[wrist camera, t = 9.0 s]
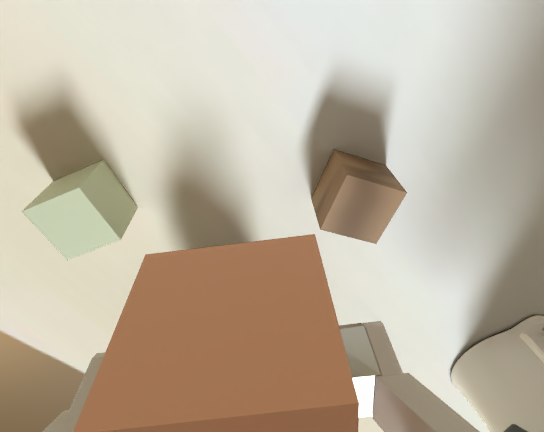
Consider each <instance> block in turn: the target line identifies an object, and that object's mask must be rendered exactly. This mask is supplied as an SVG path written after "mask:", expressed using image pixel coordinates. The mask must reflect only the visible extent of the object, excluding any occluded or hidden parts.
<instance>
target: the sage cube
mask: <svg viewBox="0 0 544 432" xmlns="http://www.w3.org/2000/svg"><path fill="white" fill-rule="evenodd" d="M137 208H138V207H137V205H136V204H135V203H134V201H133V200H132V199H131V197H130V196H129V194H128V193H127V192H126V190H125V189H124V187H123V186H122V185H121V183H120V182H119V181H118V179H117V178H116V176H115V175H114V174H113V172H112V171H111V169H110V168H109V167H108V165H107V164H106V162H105V161H104V160H102V161H99V162H97V163H95V164H92V165H90V166H88V167H85V168H83V169H81V170H78V171H76V172H74V173H71V174H69V175H67V176H64V177H62V178H60V179H57V180H55V181H53V182H52V183H51V184H50V185H49V186H48V187H47V188H46V189H45V190H44V191H43V192H42V193H40V194H39V195H38V196H37V197H36V198H35V199H34V200H33V201H32V202H31V203H30V204H29V205H28V206H27V207H26V208H25V209H24V210H23V211H22V213H23V214H24V215H25V216H26V217H27V218H28V219H29V220H30V221H31V222H32V223H33V224H34V225H35V226H36V228H37V229H38V230H39V231H40V232H41V233H42V234H43V235H44V236H45V237H46V238H47V239H48V240H49V241H50V242H51V243H52V244H53V245H54V247H55V248H56V249H57V250H58V251H59V252H60V253H61V254H62V255H63V256H64V257H65V258H66V259H67V260H69V259H72V258H74V257H77V256H80V255H82V254H85V253H87V252H90V251H93V250H95V249H98V248H100V247H103V246H106V245H108V244H111V243H113V242H116V241H119V240H121V238H122V236H123V234H124V233H125V231H126V229H127V227H128V225H129V223H130V221H131V219H132V217H133V216H134V214H135V212H136V210H137Z"/></svg>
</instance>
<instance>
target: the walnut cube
mask: <svg viewBox="0 0 544 432" xmlns="http://www.w3.org/2000/svg"><path fill="white" fill-rule="evenodd" d="M406 194H407V192H406V191H405V189H404V188H403V187H402V186H401V184H400V183H399V182H398V180H397V179H396V178H395V177H394V175H393V174H392V173H391V171H390V170H389V169H388V168H387V166H386V165H382V164H379V163H376V162H373V161H370V160H366V159H363V158H360V157H357V156H354V155H350V154H347V153H344V152H341V151H338V150H333V152H332V154H331V156H330V158H329V161H328V163H327V165H326V167H325V170H324V172H323V174H322V176H321V179H320V181H319V183H318V185H317V187H316V190H315V192H314V194H313V196H312V203H313V206H314V210H315V213H316V216H317V220H318V223H319V227H320V230H324V231H328V232H332V233H336V234H340V235H344V236H348V237H351V238H355V239H359V240H363V241H367V242H371V243H375V244H376V243H377V242H378V240H379V238H380V237H381V235H382V233H383V232H384V230H385V228H386V227H387V225H388V223H389V222H390V220H391V218H392V217H393V215H394V213H395V212H396V210H397V208H398V207H399V205H400V204H401V202H402V200H403V199H404V197H405V195H406Z"/></svg>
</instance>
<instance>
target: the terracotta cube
mask: <svg viewBox="0 0 544 432" xmlns="http://www.w3.org/2000/svg"><path fill="white" fill-rule="evenodd" d="M358 417H359V401H358V397H357V393H356V390H355V386H354V382H353V378H352V374H351V371H350V367H349V363H348V359H347V355H346V351H345V348H344V344H343V340H342V336H341V332H340V329H339V325H338V321H337V317H336V313H335V309H334V306H333V302H332V298H331V294H330V290H329V287H328V283H327V279H326V275H325V271H324V267H323V264H322V260H321V256H320V252H319V248H318V245H317V241H316V237H315V234H313V235H305V236H296V237H288V238H280V239H271V240H263V241H255V242H246V243H238V244H230V245H222V246H213V247H205V248H197V249H188V250H180V251H172V252H163V253H155V254H147V255H145V257H144V260H143V262H142V265H141V267H140V269H139V272H138V274H137V277H136V279H135V282H134V284H133V287H132V289H131V291H130V294H129V296H128V299H127V301H126V304H125V306H124V309H123V311H122V314H121V316H120V318H119V321H118V323H117V326H116V328H115V331H114V333H113V336H112V338H111V340H110V343H109V345H108V348H107V350H106V353H105V355H104V358H103V360H102V363H101V365H100V367H99V370H98V372H97V375H96V377H95V380H94V382H93V385H92V387H91V389H90V392H89V394H88V397H87V399H86V402H85V404H84V407H83V409H82V412H81V414H80V416H79V419H78V421H77V424H76V426H75V429H74V431H73V432H358Z"/></svg>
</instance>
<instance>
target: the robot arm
mask: <svg viewBox="0 0 544 432" xmlns="http://www.w3.org/2000/svg"><path fill="white" fill-rule="evenodd" d="M339 329H340V332H341V336H342V340H343V344H344V348H345V351H346V355H347V359H348V363H349V367H350V371H351V374H352V378H353V382H354V386H355V390H356V393H357V397H358V401H359V417H358V418H361V417H373V419H374V420H375V422H376V423H377V424H378V425H379V426H380V427H381V429H382V430H383V431H384V432H479V431H478V430H477V429H476V428H474V427H473V426H472V425H471V424H470V423H468V422H467V421H466V420H465V419H464V418H462V417H461V416H460V415H459V414H458V413H456V412H455V411H454V410H453V409H452V408H450V407H449V406H448V405H447V404H445V403H444V402H443V401H442V400H441V399H439V398H438V397H437V396H436V395H435V394H433V393H432V392H431V391H430V390H429V389H427V388H426V387H425V386H424V385H423V384H421V383H420V382H419V381H418V380H417V379H415V378H414V377H413V376H412V375H410V374H409V373H403V372H402V370H401V367H400V365H399V362H398V360H397V357H396V355H395V352H394V350H393V347H392V345H391V342H390V340H389V337H388V335H387V332H386V330H385V327H384V325H383V323H382V322H381V321H377V322H368V323H363V324H362V323H357V324H349V325H341V326H339ZM105 353H106V352H105ZM105 353H97V354H96V355H95V356H94V357H93V358H92V360H91V362H90V364H89V366H88V369H87V371H86V373H85V375H84V378H83V380H82V382H81V384H80V387H79V389H78V391H77V393H76V396H75V398H74V400H73V402H72V405H71V407H70V409H69V411H63V412H62V413H61V414H60V415H59V416H58V417H57V418H56V419H55V420H54V421H53V422H52V423H51V424H50V425H49V426H48V427H47V428H46V429H45V430H44V431H42V432H73V431H74V429H75V426H76V424H77V421H78V419H79V416H80V414H81V412H82V409H83V407H84V404H85V402H86V399H87V397H88V394H89V392H90V389H91V387H92V385H93V382H94V380H95V377H96V375H97V372H98V370H99V367H100V365H101V363H102V360H103V358H104V355H105ZM451 380H452V383H453V385H454V386H455V387H456V388H457V390H458V391H459V392H460V393H461V394H462V395H463V396H464V397H465V398H466V400H467V401H468V402H469V403H470V405H471V406H472V407H473V408H474V410H475V411H476V412H477V414H478V415H479V416H480V418H481V419H482V421H483V422H484V424H485V425H486V426H487V428H488V429H489V431H490V432H544V316H539V315H537V316H532V317H530V318H528V319H526V320H524V321H522V322H521V323H519V324H518V325H516V326H515V327H513V328H512V329H510V330H508V331H505V332H503V333H500V334H497V335H494V336H492V337H490V338H487V339H485V340H483V341H482V342H480V343H478V344H476V345H475V346H473V347H472V348H470V349H469V350H468V351H467V352H465V353H464V354H463V355H462V356H461V357H460V358H459V359H458V361H457V362H456V364H455V365H454V367H453V369H452V373H451Z"/></svg>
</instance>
